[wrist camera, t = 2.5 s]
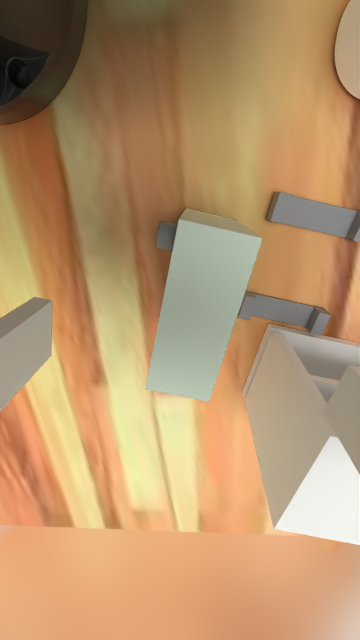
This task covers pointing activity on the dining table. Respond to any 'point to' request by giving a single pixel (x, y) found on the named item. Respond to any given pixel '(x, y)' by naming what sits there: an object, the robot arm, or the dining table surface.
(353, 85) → the can
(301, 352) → the cabinet
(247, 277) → the door
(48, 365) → the dining table surface
